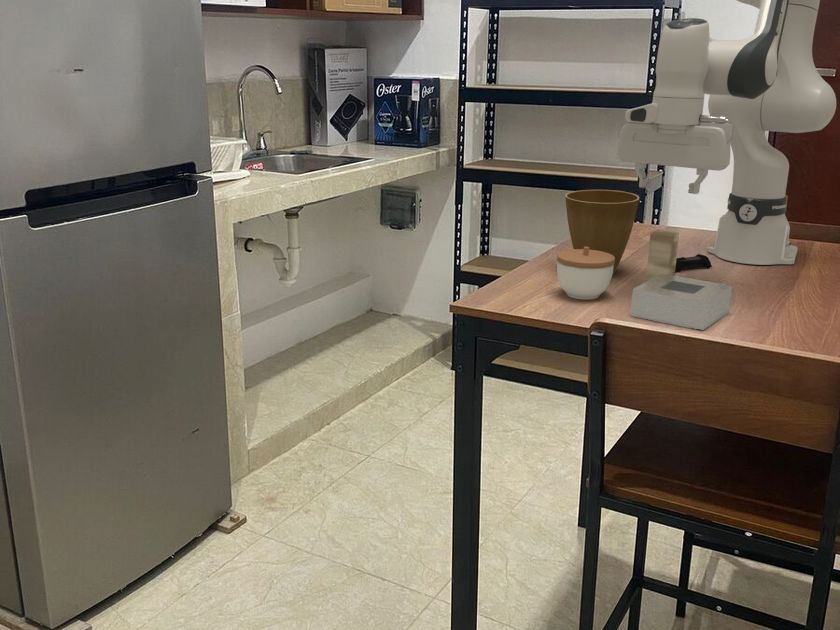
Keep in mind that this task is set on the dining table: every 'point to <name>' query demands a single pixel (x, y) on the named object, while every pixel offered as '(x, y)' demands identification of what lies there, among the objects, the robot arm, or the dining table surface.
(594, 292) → the lidded jar
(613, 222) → the plant pot
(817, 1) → the robot arm
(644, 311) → the socket block
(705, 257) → the electric trimmer
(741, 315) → the dining table surface
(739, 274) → the dining table surface
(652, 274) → the ash peg
